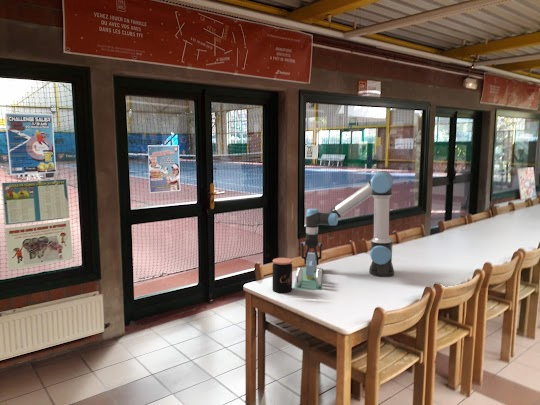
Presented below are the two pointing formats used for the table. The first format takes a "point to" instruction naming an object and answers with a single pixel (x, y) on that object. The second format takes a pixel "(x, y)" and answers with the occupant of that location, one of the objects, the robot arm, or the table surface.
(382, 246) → the robot arm
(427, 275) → the table surface
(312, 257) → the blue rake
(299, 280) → the spacers
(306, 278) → the brass nut
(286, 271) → the coffee jar
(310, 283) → the green mat
